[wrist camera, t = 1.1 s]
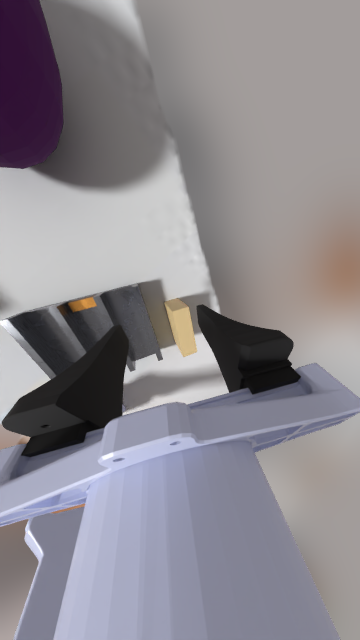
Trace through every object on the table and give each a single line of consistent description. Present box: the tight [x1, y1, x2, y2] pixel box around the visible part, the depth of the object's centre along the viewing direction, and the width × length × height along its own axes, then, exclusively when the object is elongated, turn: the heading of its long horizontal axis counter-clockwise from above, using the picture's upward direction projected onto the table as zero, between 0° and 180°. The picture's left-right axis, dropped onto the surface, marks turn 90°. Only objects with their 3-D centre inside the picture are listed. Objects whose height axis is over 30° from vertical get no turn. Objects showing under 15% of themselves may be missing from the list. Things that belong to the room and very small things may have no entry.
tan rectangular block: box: [164, 298, 197, 357], centre depth 27 cm, size 10×3×7 cm, turn 12°
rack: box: [0, 283, 163, 379], centre depth 25 cm, size 16×19×4 cm
